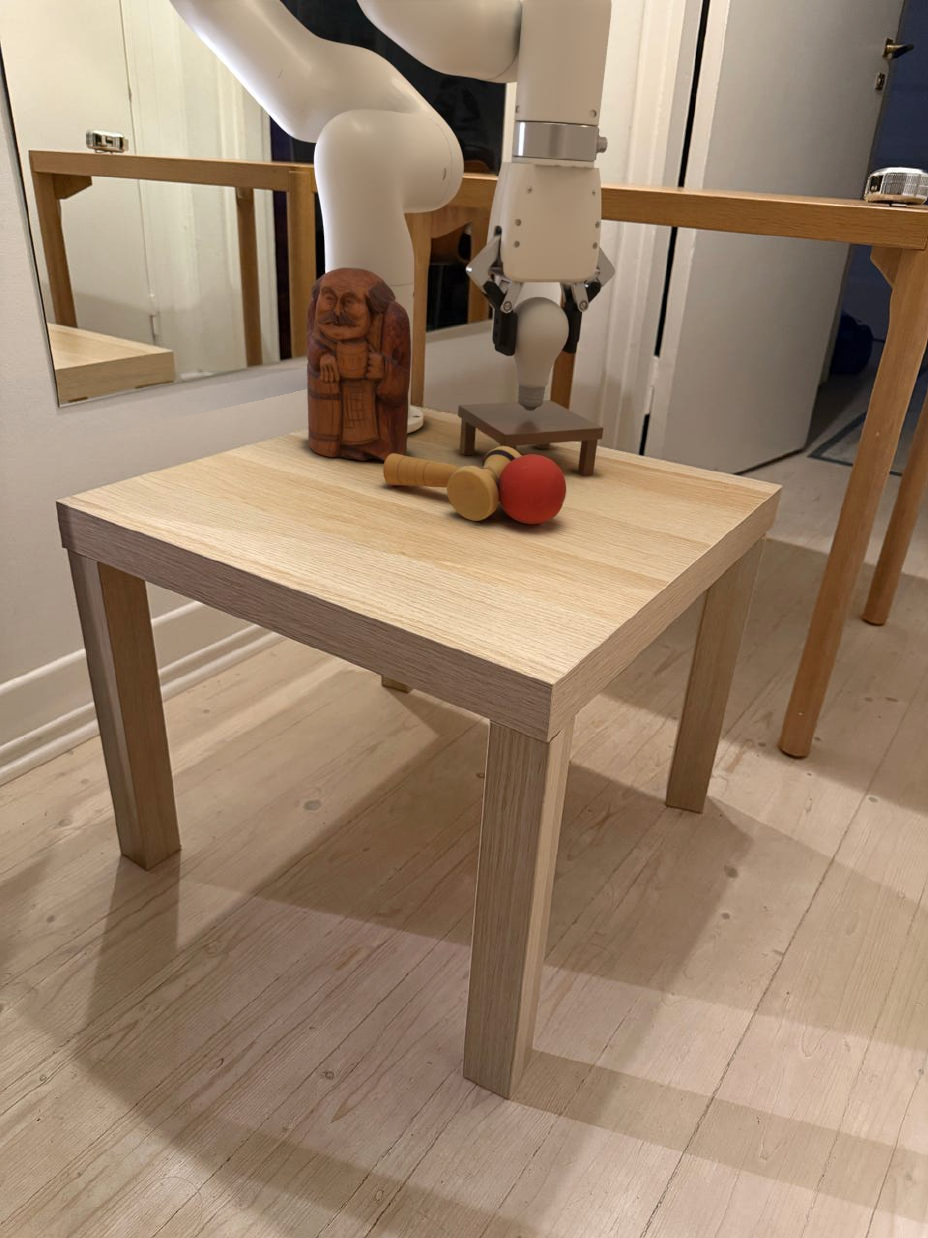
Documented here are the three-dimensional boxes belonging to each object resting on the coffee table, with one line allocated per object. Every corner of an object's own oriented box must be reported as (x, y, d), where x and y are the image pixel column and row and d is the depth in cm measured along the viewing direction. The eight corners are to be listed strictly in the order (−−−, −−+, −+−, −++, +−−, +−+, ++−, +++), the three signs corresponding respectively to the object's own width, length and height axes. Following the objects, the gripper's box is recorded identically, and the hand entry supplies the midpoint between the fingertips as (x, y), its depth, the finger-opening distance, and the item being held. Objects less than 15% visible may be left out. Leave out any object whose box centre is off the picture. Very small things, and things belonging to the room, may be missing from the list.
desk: (455, 451, 97) (458, 404, 95) (545, 444, 102) (550, 399, 99) (501, 484, 88) (505, 434, 86) (597, 475, 93) (603, 427, 90)
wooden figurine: (289, 452, 94) (283, 266, 85) (314, 436, 99) (311, 260, 91) (398, 468, 91) (403, 278, 83) (417, 450, 97) (424, 271, 88)
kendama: (364, 510, 84) (539, 532, 75) (365, 440, 82) (543, 454, 73) (412, 503, 90) (578, 522, 81) (414, 438, 89) (583, 450, 80)
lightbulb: (488, 405, 93) (496, 292, 88) (535, 400, 96) (546, 291, 91) (523, 421, 89) (533, 303, 84) (571, 415, 92) (585, 301, 87)
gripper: (612, 151, 88) (590, 342, 96) (449, 140, 81) (439, 346, 89) (657, 154, 82) (629, 357, 90) (485, 142, 75) (471, 363, 83)
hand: (535, 350), depth 90 cm, fingers closed on lightbulb, 6 cm apart
